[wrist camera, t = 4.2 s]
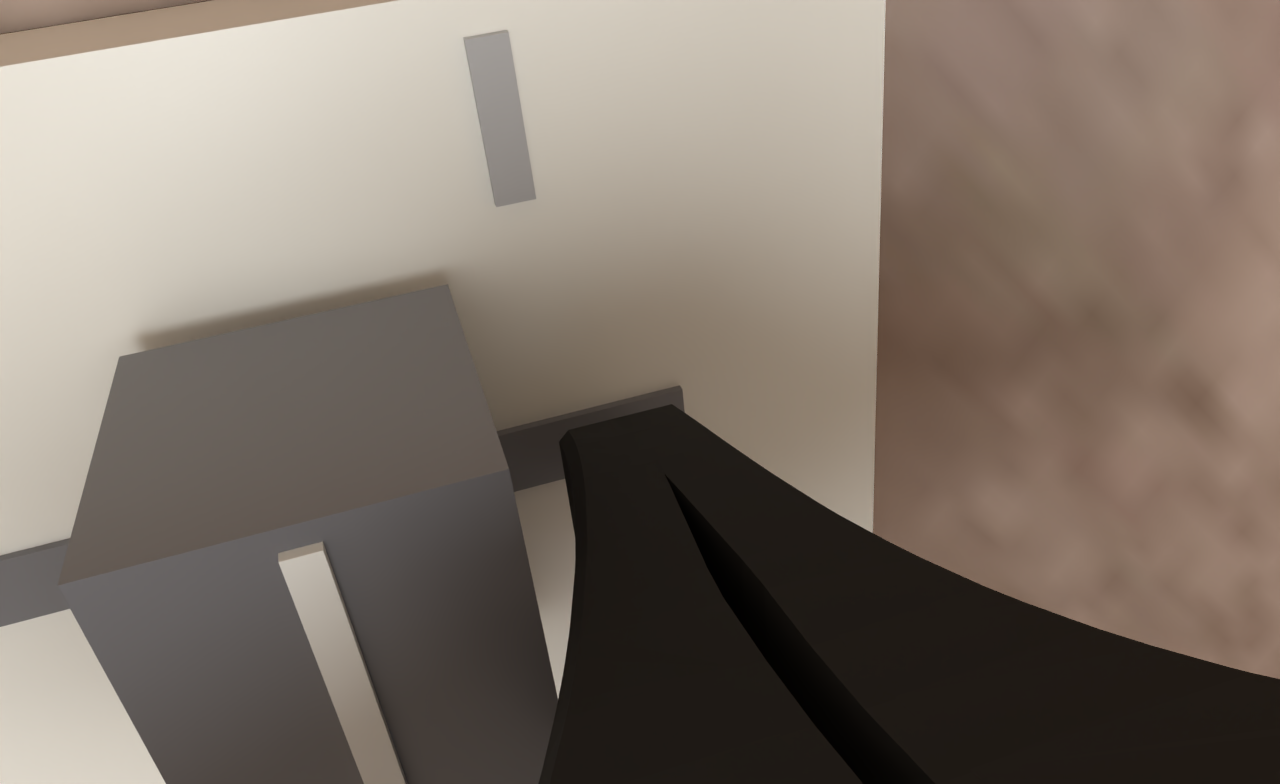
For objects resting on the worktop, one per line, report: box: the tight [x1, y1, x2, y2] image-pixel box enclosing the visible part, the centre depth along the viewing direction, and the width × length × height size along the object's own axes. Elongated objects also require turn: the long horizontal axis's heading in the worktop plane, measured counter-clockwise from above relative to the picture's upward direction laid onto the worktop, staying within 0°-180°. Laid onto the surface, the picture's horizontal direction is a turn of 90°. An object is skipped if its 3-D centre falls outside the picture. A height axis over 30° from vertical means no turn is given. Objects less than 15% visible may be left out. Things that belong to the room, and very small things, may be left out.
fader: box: [57, 284, 558, 784], centre depth 10 cm, size 5×3×3 cm, turn 6°
